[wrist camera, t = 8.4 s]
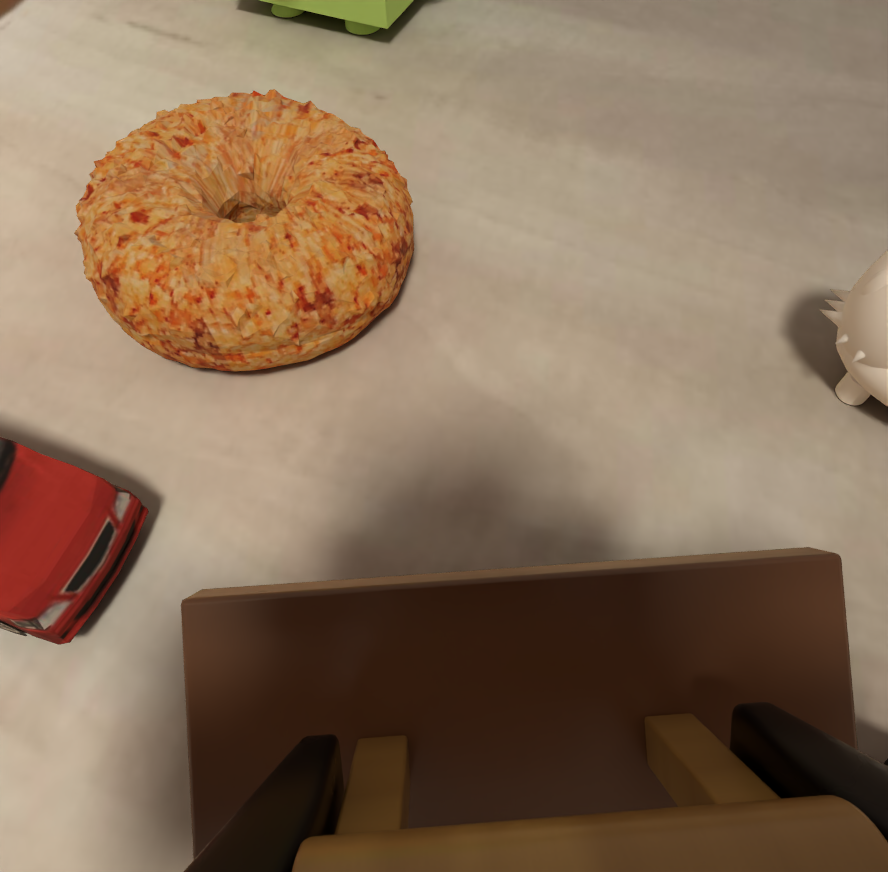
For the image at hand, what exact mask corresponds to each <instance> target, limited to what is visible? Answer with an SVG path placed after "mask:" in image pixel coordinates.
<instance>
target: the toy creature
mask: <svg viewBox="0 0 888 872" xmlns="http://www.w3.org/2000/svg"><path fill="white" fill-rule="evenodd" d="M830 290H831V291H832V292H833V293H835V294H836V295H837V296H838V297H839V298H840V299H841V300H843V301H844V302H843V301H833V300H825V301H826V302H827V303H828V304H830V305H831V306H832V307H833V308H834V309H835V310H836V311H830V310H821V309H819V310H820V311H821V312H822V313H823V314H824V315H825V316H827V317H828V318H829V319H830V320H831V321H832V322H833V323H835V324H836V325H837V326H838V327H839V328H838V333H837V341H836V343H835V344H836V348H837V350H838V353H839V355H840V357H841V359H842V361H843V363H844V366H845V368H846V370H847V371H848V372H847V373H846V375H845V376H844V377H843V378H842V379H841V381H840V382H839V383H838V384H837V385H836V388H835V391H836V394H837V396H838V398H839V399H840V400H841V401H843V402H844V403H846V404H849V405H860V404H862V403H864V402H865V401H866V400H867V398H868V397H869V396H870V395H872V396H874V397H875V398H876V399H878V400H879V401H880V402H882V403H883V404H884V405H886V406H888V250H887V251H886V252H885V253H884V254H883V255H882V256H881V257H880V258H879V259H878V260H877V261H876V262H875V263H874V264H873V265H872V266H871V267H870V268H869V269H868V270H867V271H866V272H865V273H864V274H863V276H862V277H861V278H860V279H859V280H858V282H857V283H856V284H855V285H854V287H853V288H852V290H851V291H842V290H832V289H830Z"/></svg>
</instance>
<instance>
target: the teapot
mask: <svg viewBox="0 0 888 872" xmlns="http://www.w3.org/2000/svg"><path fill="white" fill-rule="evenodd" d="M260 1H264V2H269V3H273V6H272V9H271V11H272V13H273V14H274V15H276V16H279V17H294V16H297V15H300V14H302V13H303V12H304V11H309V12H313V13H318V14H322V15H327V16H331V17H336V18H340V19H345V26H346V29H347V30H348V31H349V32H351V33H353V34H358V35H366V34H371V33H374V32H376V31H377V30H379V29H380V27H381V28H385V29H388V28H389V27H390V26H391V24H392V23H393V22H394V21H395V20H396V19H397V18H398V17H399V16H400V15H401V14H402V13H403V11H404V10H405V9H406V8H407V7H408V6H409V5H410V4H411V3H412V2H413V1H414V0H260Z"/></svg>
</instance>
